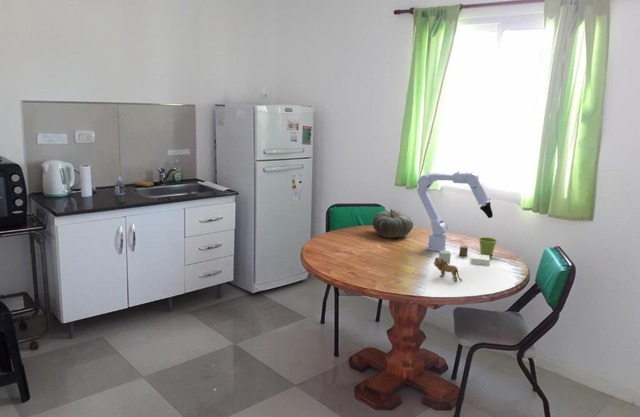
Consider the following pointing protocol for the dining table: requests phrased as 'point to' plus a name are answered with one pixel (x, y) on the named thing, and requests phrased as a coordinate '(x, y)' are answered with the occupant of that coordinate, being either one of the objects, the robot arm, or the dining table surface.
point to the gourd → (392, 224)
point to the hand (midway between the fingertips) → (490, 216)
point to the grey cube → (445, 256)
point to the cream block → (480, 259)
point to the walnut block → (463, 251)
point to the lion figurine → (446, 268)
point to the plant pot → (487, 245)
